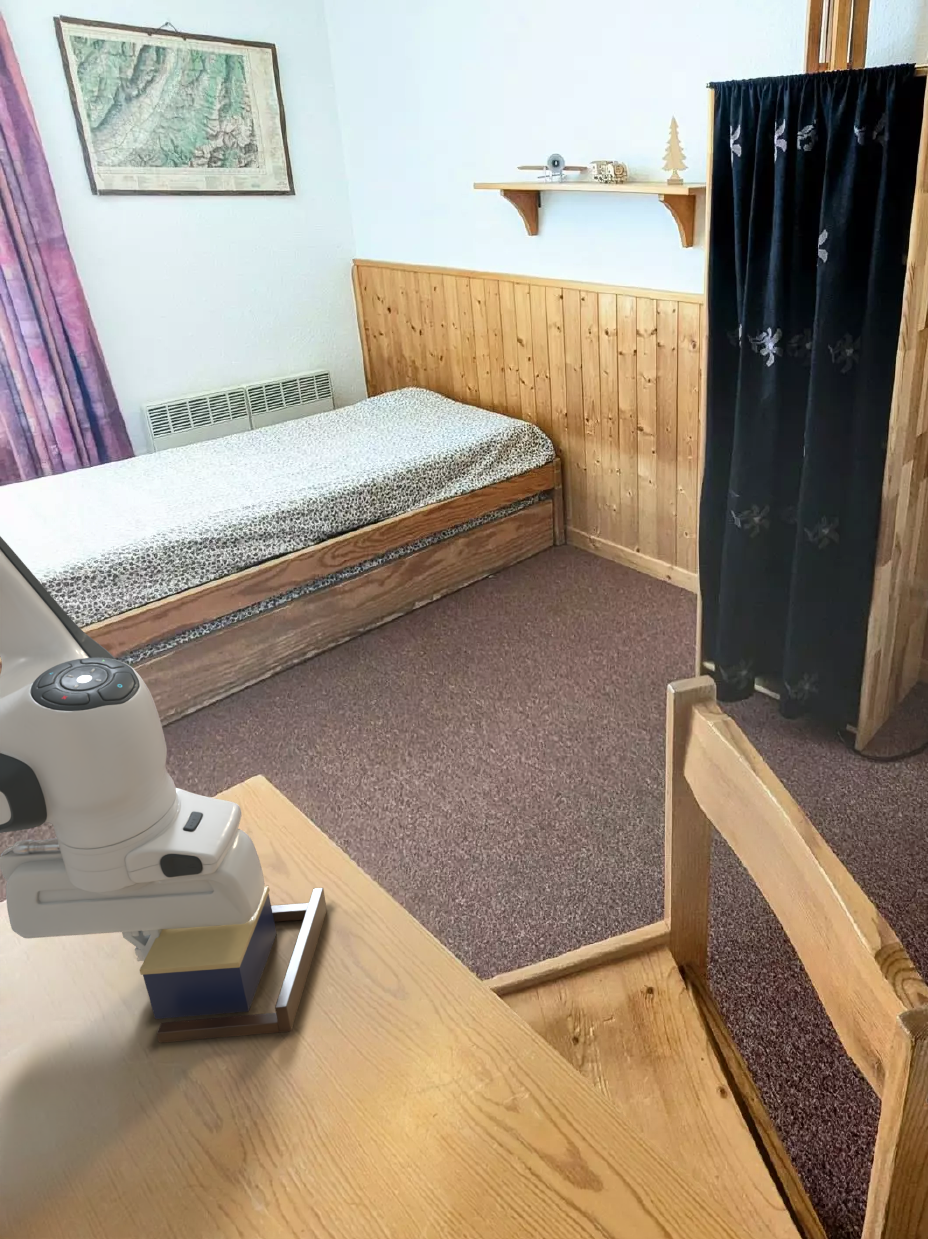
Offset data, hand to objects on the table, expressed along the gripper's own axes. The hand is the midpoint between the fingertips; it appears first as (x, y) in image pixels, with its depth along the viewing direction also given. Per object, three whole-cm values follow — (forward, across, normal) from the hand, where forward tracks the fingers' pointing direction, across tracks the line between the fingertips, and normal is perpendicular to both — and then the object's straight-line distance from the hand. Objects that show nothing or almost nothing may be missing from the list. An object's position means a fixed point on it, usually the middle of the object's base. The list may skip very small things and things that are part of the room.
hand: (154, 954), depth 75 cm
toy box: (+3, +5, 0) cm, 6 cm away
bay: (+3, +8, 0) cm, 8 cm away
